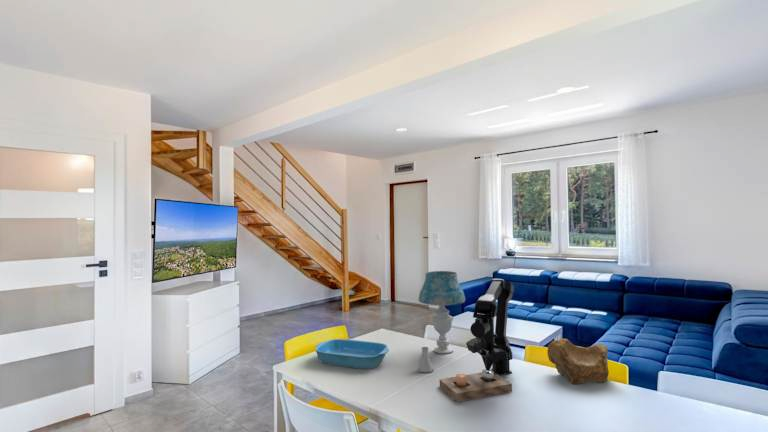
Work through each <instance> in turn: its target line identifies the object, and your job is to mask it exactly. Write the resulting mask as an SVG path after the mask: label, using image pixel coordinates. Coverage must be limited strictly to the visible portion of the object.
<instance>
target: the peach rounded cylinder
mask: <svg viewBox="0 0 768 432" xmlns="http://www.w3.org/2000/svg"><path fill="white" fill-rule="evenodd" d="M467 375H468V374H465V373H457V374H455V377H456V385H457V386H460V387H464V386H467Z"/></svg>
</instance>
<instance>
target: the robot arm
mask: <svg viewBox="0 0 768 432" xmlns="http://www.w3.org/2000/svg"><path fill="white" fill-rule="evenodd" d="M514 292H515V286H514V285H513V283H512V282H510V281H508V280H507V281H506V279H503V278H493V279H491V283H490V286H489V288H488V289H487V290H486V293H485V294H484V295H481V296H480V297H479V298H478V299H477V301H476V302H475V305H474V309H473V314H472V318H474V322H473V323H472V324H471V326H470V333H471V334H472V336H473V337H474V338H471V339H470V340H468V341H467V342H465V345H466V347H467V350H468V352H471V353H472V354H476V353H477V354H478V355H480V356H481V359H482V362H483V364H484V365H483V366H484V367H485V369H486V370H487V371H489V370H492V371H493V372H494V373H495V374H497V375H499V376H503V375H508V374H512V373H513V372H512V370H511V369H510V361H511V360H513V350H512V348H511V346H510V340H509V339H508V337H507V325H508V323H507V322H508V308H509V302H510V301H511V299H512V298H513V293H514ZM494 319H495V321H494ZM494 323H495V324H494Z"/></svg>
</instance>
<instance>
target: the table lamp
mask: <svg viewBox="0 0 768 432" xmlns="http://www.w3.org/2000/svg"><path fill="white" fill-rule="evenodd" d="M418 301H419V302H420V303H421V304H423V305H430V306H438V308H437V309H434V313H435V314H433V315H432V316H431V321H432V325H433V328H434V330H435V331H436V332H437V333H438V334H439V336H438V338H437V339H436V345H437V346H435V347H434V348H433V351H434V352H435V353H436V354H440V355H448V354H451V353H452V352H454V349H453V348H452V347H450V340H449V339H448V337H447V336H446V334H448V333H449V332H450V331H451V329H452V325H453V320H454V317H453V315H450V310H449V309H447V308H446V307H445V306H455V305H456V306H457V305H460V304H464V303H465V301H466V296H465V292H464V291H463V289H462V287H461V284H460V283H459V281H458V274H457V272H455V271H450V270H449V271H448V270H439V271H438V270H434V271H427V272H426V273H425V279H424V283H423V285H422V288H421V289H420V291H419V294H418Z"/></svg>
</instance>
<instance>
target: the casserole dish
mask: <svg viewBox="0 0 768 432" xmlns="http://www.w3.org/2000/svg"><path fill="white" fill-rule="evenodd" d="M389 351H390V349H389V348H388V345H387V344H385V343H381V342H374V341H366V340H365V341H364V340H356V339H345V338H334V339H330V340H327V341H326V340H325V341H322V342H319V343H317V344H316V345H315V353H316V355H317V358H318V360H319V361H320V362H321V363H322V364H325V365H329V366H336V367H344V368H350V369H352V368H354V369H358V370H359V369H360V370H370V369H373V368H375V367H377V366H378V365H379V364H381V362H382V361H383V360H384V358H385V356H386V354H387V353H389Z"/></svg>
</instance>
